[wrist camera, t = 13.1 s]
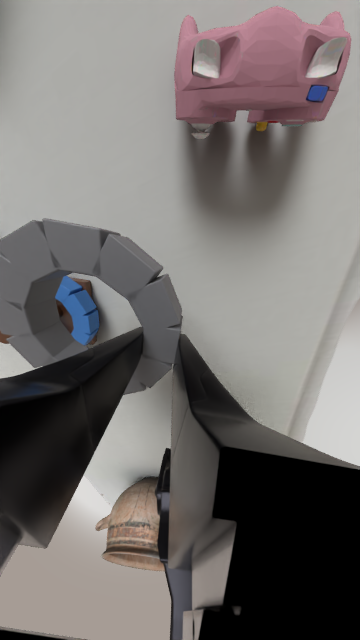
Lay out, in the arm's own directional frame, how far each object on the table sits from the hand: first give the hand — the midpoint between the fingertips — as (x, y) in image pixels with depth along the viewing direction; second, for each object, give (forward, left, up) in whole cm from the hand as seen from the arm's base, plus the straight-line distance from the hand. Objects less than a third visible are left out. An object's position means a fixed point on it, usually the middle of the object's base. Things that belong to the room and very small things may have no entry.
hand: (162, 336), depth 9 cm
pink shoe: (+15, -3, -10) cm, 19 cm away
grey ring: (0, +4, -1) cm, 4 cm away
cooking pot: (-57, -2, -10) cm, 58 cm away
